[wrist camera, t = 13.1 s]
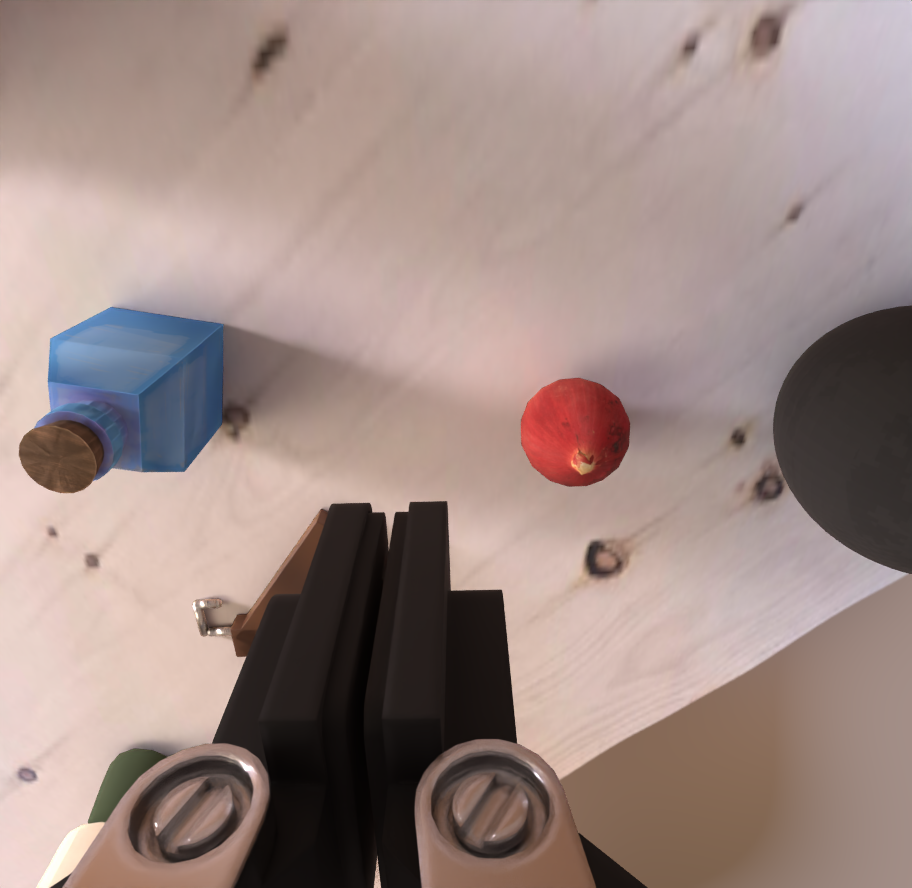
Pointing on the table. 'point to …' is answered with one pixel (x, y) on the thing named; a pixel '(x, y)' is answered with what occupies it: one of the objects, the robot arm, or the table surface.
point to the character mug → (99, 811)
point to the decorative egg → (853, 435)
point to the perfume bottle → (126, 398)
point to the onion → (575, 432)
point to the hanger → (266, 591)
